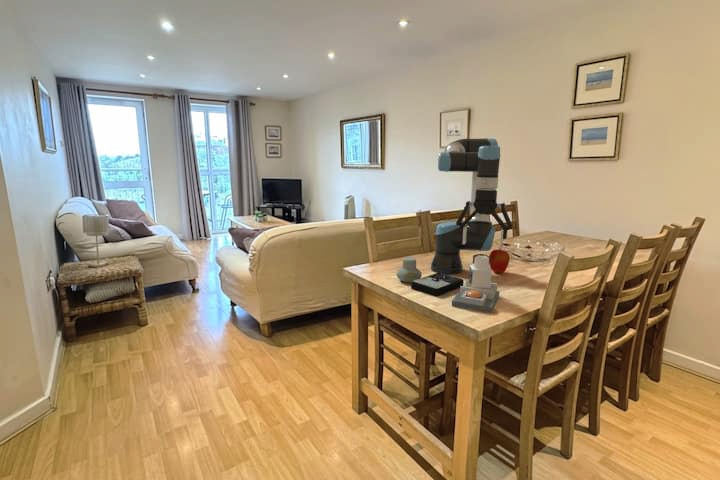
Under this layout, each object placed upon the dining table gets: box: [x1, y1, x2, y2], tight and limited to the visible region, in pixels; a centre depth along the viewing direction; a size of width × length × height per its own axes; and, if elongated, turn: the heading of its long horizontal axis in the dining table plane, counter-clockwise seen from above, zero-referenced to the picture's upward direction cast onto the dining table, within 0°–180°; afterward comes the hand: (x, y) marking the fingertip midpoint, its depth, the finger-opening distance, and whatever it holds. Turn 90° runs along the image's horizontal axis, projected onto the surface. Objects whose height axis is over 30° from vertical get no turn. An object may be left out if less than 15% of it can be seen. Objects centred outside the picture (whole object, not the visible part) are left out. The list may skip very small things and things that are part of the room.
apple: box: [488, 248, 511, 274], centre depth 178 cm, size 9×9×12 cm
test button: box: [467, 290, 481, 299], centre depth 137 cm, size 5×5×2 cm
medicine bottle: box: [468, 253, 493, 288], centre depth 144 cm, size 7×7×12 cm
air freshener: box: [396, 257, 422, 284], centre depth 165 cm, size 11×8×10 cm
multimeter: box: [410, 272, 464, 298], centre depth 157 cm, size 13×19×5 cm
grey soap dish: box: [451, 278, 500, 314], centre depth 142 cm, size 14×19×5 cm
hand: (482, 245), depth 142 cm, fingers open, 13 cm apart
